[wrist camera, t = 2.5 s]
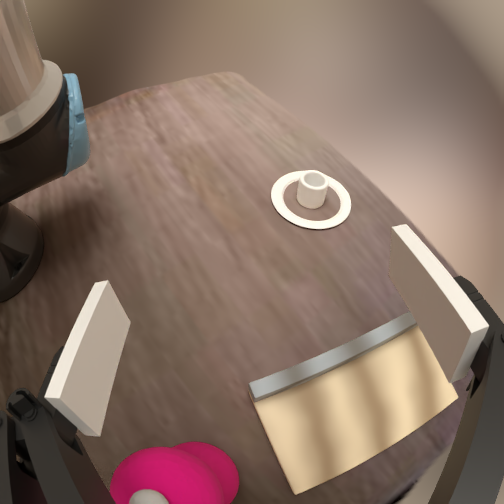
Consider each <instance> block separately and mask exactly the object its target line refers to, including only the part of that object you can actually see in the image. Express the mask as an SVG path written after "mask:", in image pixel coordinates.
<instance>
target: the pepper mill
mask: <svg viewBox="0 0 504 504" xmlns="http://www.w3.org/2000/svg"><path fill="white" fill-rule="evenodd" d="M238 487H239V475H238V471H237V468H236V466H235V464H234V462H233V461H232V460H231V458H230V457H229V456H228V455H227V454H226V453H225V452H224V451H222V450H220V449H219V448H217V447H215V446H213V445H210V444H207V443H203V442H186V443H182V444H179V445H176V446H174V447H172V448H170V447H152V448H147V449H143V450H140V451H137V452H135V453H133V454H131V455H130V456H128V457H127V458H126V459H125V460H123V461H122V462H121V463H120V464H119V466H118V467H117V469H116V470H115V472H114V474H113V477H112V480H111V485H110V495H111V496H112V498H113V499H114V501H115V503H116V504H230V503H231V502H232V501H233V499H234V498H235V496H236V494H237V491H238Z"/></svg>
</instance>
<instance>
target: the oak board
mask: <svg viewBox="0 0 504 504" xmlns="http://www.w3.org/2000/svg"><path fill="white" fill-rule="evenodd" d="M248 392H249V395H250V397H251V400H252V402H253V404H254V407H255V409H256V412H257V414H258V416H259V419H260V421H261V423H262V425H263V428H264V430H265V432H266V435H267V437H268V439H269V441H270V444H271V446H272V448H273V450H274V453H275V455H276V457H277V459H278V462H279V464H280V466H281V468H282V470H283V472H284V475H285V477H286V479H287V481H288V483H289V485H290V487H291V489H292V492H293V493H294V494H295V495H296V494H299V493H301V492H303V491H306V490H308V489H310V488H313V487H315V486H317V485H319V484H321V483H323V482H326V481H328V480H330V479H332V478H334V477H336V476H338V475H340V474H342V473H344V472H346V471H348V470H350V469H351V468H353V467H355V466H357V465H359V464H361V463H363V462H364V461H366V460H368V459H370V458H371V457H373V456H375V455H377V454H378V453H380V452H382V451H383V450H385V449H386V448H388V447H390V446H391V445H393V444H395V443H396V442H398V441H399V440H401V439H402V438H404V437H405V436H407V435H408V434H410V433H411V432H413V431H414V430H416V429H417V428H419V427H420V426H421V425H423V424H424V423H426V422H427V421H428V420H430V419H431V418H432V417H434V416H435V415H436V414H438V413H439V412H440V411H442V410H443V409H444V408H446V407H447V406H448V405H449V404H451V403H452V402H453V401H454V400H456V399H457V398H458V396H457V394H456V392H455V390H454V388H453V386H452V384H451V383H449V382H448V380H447V378H446V376H445V374H444V372H443V370H442V369H441V367H440V365H439V363H438V361H437V359H436V357H435V355H434V353H433V351H432V350H431V348H430V346H429V344H428V342H427V340H426V339H425V337H424V335H423V333H422V331H421V330H420V328H419V326H418V324H417V323H416V321H415V319H414V317H413V316H412V314H411V312H410V311H409V312H407V313H405V314H403V315H401V316H400V317H398V318H396V319H394V320H392V321H390V322H388V323H386V324H384V325H382V326H380V327H378V328H376V329H374V330H372V331H370V332H368V333H366V334H364V335H362V336H360V337H358V338H356V339H354V340H352V341H350V342H348V343H345V344H343V345H341V346H339V347H337V348H335V349H332V350H330V351H328V352H326V353H323V354H321V355H319V356H316V357H314V358H312V359H309V360H307V361H305V362H302V363H300V364H298V365H295V366H293V367H290V368H288V369H285V370H283V371H280V372H278V373H275V374H272V375H270V376H267V377H265V378H262V379H259V380H257V381H254V382H251V383H249V389H248Z"/></svg>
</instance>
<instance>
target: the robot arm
mask: <svg viewBox="0 0 504 504" xmlns="http://www.w3.org/2000/svg"><path fill="white" fill-rule="evenodd" d="M89 156H90V143H89V137H88V131H87V125H86V120H85V117H84V110H83V103H82V97H81V93H80V87H79V82H78V78H77V76H76V75H75V74H64V75H62V73H61V70H60V69H59V67H58V66H57V65H56V64H55V63H53V62H51V61H47V60H42V59H41V56H40V53H39V50H38V47H37V43H36V40H35V37H34V34H33V31H32V27H31V24H30V21H29V17H28V13H27V10H26V7H25V2H24V0H0V302H2V301H5V300H7V299H9V298H11V297H12V296H14V295H15V294H17V293H18V292H19V291H20V290H21V289H22V288H23V287H24V286H25V285H26V284H27V283H28V281H29V280H30V279H31V277H32V276H33V274H34V273H35V271H36V269H37V267H38V265H39V263H40V260H41V257H42V253H43V246H44V241H43V235H42V233H41V231H40V229H39V228H38V226H37V225H36V223H35V222H34V220H33V219H32V218H31V217H29V216H27V215H25V214H24V213H23V212H21V211H20V210H19V209H18V208H16V207H15V206H13V205H12V204H11V203H9V202H10V201H12V200H14V199H16V198H18V197H20V196H22V195H24V194H26V193H28V192H30V191H32V190H34V189H36V188H38V187H40V186H42V185H44V184H46V183H49V182H51V181H53V180H55V179H57V178H60V177H62V176H66V175H67V174H68V173H69V172H70V171H72V170H74V169H76V168H78V167H80V166H82V165H84V164H85V163H86V162H87V160H88V159H89ZM389 278H390V279H391V281H392V283H393V284H394V286H395V287H396V289H397V291H398V292H399V294H400V296H401V297H402V299H403V301H404V302H405V304H406V306H407V307H408V309H409V311H410V312H411V314H412V316H413V317H414V319H415V321H416V323H417V324H418V326H419V328H420V330H421V331H422V333H423V335H424V337H425V339H426V340H427V342H428V344H429V346H430V348H431V350H432V351H433V353H434V355H435V357H436V359H437V361H438V363H439V365H440V367H441V369H442V370H443V372H444V374H445V376H446V378H447V380H448V382H449V383H452V382H454V381H457V380H459V379H461V378H464V377H466V375H467V373H468V371H469V369H470V367H471V369H472V371H473V372H474V376H473V378H472V380H471V381H470V383H469V385H468V387H467V389H466V391H468V390H469V389H470V390H469V393H468V397H467V401H466V405H465V408H464V412H463V415H462V418H461V422H460V425H459V428H458V431H457V434H456V437H455V440H454V443H453V446H452V448H451V451H450V454H449V457H448V459H447V462H446V464H445V467H444V469H443V472H442V474H441V476H440V479H439V481H438V483H437V485H436V488H435V490H434V492H433V494H432V496H431V499H430V501H429V503H428V504H495V501H496V498H497V495H498V492H499V489H500V486H501V483H502V480H503V476H504V324H503V323H502V321H501V320H500V318H498V316H497V314H496V313H495V312H494V311H493V309H492V308H491V307H490V305H489V304H488V303H487V302H486V300H484V298H483V296H482V295H481V294H480V293H478V290H477V289H476V288H475V287H474V285H473V284H472V283H471V282H470V281H468V280H467V279H465V278H463V277H462V276H458V277H455V278H453V277H452V276H451V275H450V274H449V273H448V271H447V270H446V269H445V268H444V267H443V265H442V264H441V263H440V262H439V261H438V259H437V258H436V257H435V256H434V255H433V254H432V252H431V251H430V250H429V249H428V248H427V247H426V246H425V244H424V243H423V242H422V241H421V240H420V239H419V238H418V237H417V235H416V234H415V233H414V232H413V231H412V230H411V229H410V228H409V227H408V226H407V225H406V224H405V225H400V226H394V227H391V248H390V263H389ZM130 323H131V322H130V320H129V318H128V317H127V315H126V313H125V311H124V309H123V307H122V306H121V304H120V302H119V300H118V298H117V296H116V294H115V293H114V291H113V289H112V287H111V285H110V283H109V281H108V280H107V281H102V282H96V283H95V284H94V286H93V288H92V290H91V292H90V294H89V296H88V298H87V300H86V302H85V304H84V306H83V308H82V310H81V312H80V314H79V316H78V318H77V321H76V323H75V325H74V327H73V329H72V331H71V334H70V336H69V338H68V340H67V343H66V345H65V346H62V347H61V348H60V349H59V350H58V352H57V353H56V354H55V356H54V358H53V360H52V363H51V367H49V370H48V372H47V373H48V374H46V377H45V379H44V382H43V384H42V387H41V389H40V392H39V395H38V397H37V399H36V398H35V397H34V396H33V395H32V394H31V393H30V392H29V391H28V390H27V389H25V388H19V389H17V390H15V391H14V392H13V393H12V394H11V395H10V397H9V398H8V400H7V403H6V409H7V410H8V411H9V412H10V413H11V414H12V415H13V417H10V416H8V415H7V414H6V413H5V412H4V411H0V504H116V503H115V501H114V499H113V498H112V496H111V495H110V493H109V491H108V490H107V488H106V487H105V485H104V483H103V481H102V480H101V478H100V476H99V475H98V473H97V471H96V469H95V467H94V466H93V464H92V462H91V460H90V458H89V456H88V454H87V452H86V450H85V449H84V447H83V445H82V443H81V441H80V439H79V438H78V436H77V435H76V431H77V429H79V430H80V431H81V432H82V433H83V434H84V435H88V436H100V435H101V431H102V426H103V422H104V418H105V414H106V409H107V405H108V401H109V397H110V393H111V389H112V386H113V382H114V378H115V374H116V371H117V367H118V364H119V360H120V357H121V353H122V350H123V346H124V343H125V339H126V336H127V333H128V330H129V326H130ZM16 455H17V456H19V457H20V462H18V461H16Z"/></svg>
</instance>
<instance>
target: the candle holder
mask: <svg viewBox="0 0 504 504" xmlns="http://www.w3.org/2000/svg"><path fill="white" fill-rule="evenodd" d="M298 180H299V184H298V190H297V201H298V202H299V204H301V205H302V206H303V207H306V208H309V209H316V208H319V207H321V206H322V205H323V203H324V200H325V196H326V193H327V189H328V186H330V187H331V188H332V189H334V190H335V192H336V193H337V194H338V196H339V198H340V202H341V207H340V210H339V212H338V213H337V214H336V215H335V216H334V217H332V218H330V219H328V220H324V221H310V220H306V219H303V218H300V217H298V216H296V215H295V214H293V213H292V212H291V211H290V210H289V209H288V208H287V207H286V205H285V203H284V200H283V193H284V190H285V189H286V187H287V186H288V185H289V184H291V183H293V182H295V181H298ZM271 198H272V202H273V205H274V207H275V208H276V210H277V211H278V212H279V213H280V214H281V215H282V216H283V217H284V218H286V219H287V220H289V221H290V222H292V223H294V224H296V225H299V226H302V227H306V228H311V229H325V228H330V227H334V226H336V225H338V224H340V223H342V222H343V221H344V220H345V219H346V218H347V217H348V215H349V213H350V210H351V200H350V196H349V193H348V192H347V191H346V190H345V188H344V187H343V186H342V185H341V184H340V183H339V182H337V181H336V180H334V179H333V178H331V177H329V176H327V175H324V174H323V173H321V172H319V171H315V170H308V171H297V172H292V173H289V174H286V175H284V176H283V177H281V178H280V179H278V180H277V181H276V183H275V184H274V186H273V188H272V192H271Z"/></svg>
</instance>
